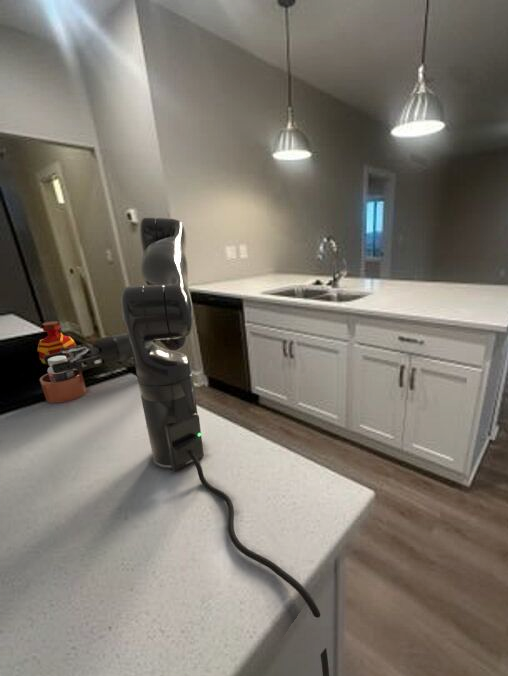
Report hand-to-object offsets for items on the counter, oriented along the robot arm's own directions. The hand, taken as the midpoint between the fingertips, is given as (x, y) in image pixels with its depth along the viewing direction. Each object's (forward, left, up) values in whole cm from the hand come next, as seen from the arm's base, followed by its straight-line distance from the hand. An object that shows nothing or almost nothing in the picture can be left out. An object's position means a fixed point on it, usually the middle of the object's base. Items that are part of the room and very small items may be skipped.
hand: (48, 364), depth 87 cm
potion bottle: (+19, -6, -9) cm, 22 cm away
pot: (0, -2, -9) cm, 9 cm away
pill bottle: (0, -2, -9) cm, 9 cm away
